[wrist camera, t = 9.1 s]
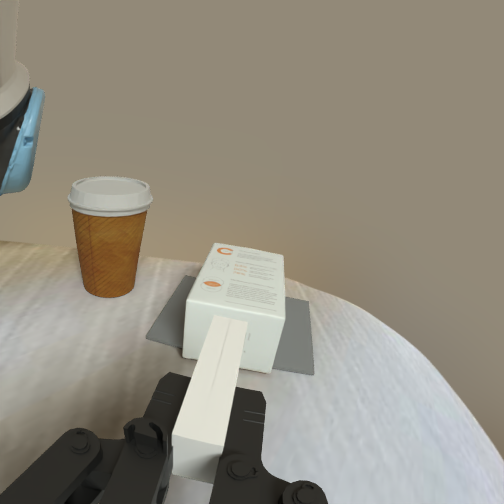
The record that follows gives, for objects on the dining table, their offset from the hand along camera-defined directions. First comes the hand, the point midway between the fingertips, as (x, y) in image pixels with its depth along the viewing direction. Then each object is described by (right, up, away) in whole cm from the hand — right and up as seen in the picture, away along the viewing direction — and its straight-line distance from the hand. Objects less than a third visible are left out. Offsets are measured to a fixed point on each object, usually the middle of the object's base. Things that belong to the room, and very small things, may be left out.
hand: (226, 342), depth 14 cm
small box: (-1, -3, +11) cm, 12 cm away
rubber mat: (0, -3, +21) cm, 21 cm away
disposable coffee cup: (-16, 0, +22) cm, 27 cm away
